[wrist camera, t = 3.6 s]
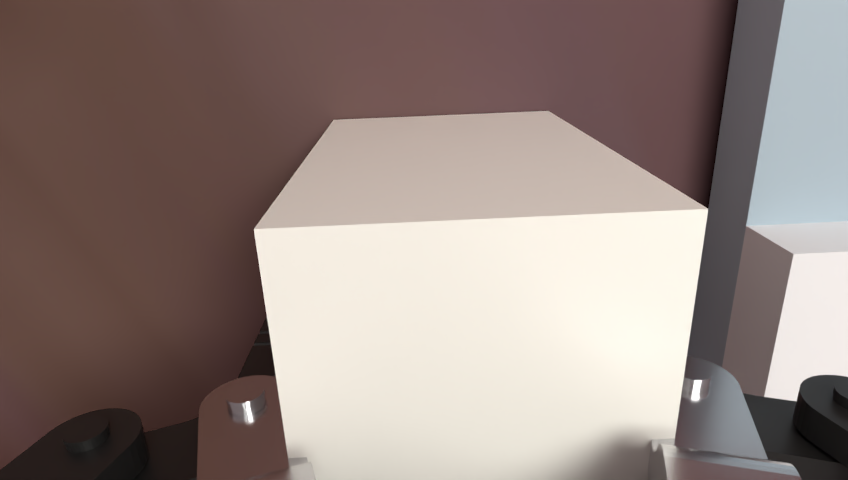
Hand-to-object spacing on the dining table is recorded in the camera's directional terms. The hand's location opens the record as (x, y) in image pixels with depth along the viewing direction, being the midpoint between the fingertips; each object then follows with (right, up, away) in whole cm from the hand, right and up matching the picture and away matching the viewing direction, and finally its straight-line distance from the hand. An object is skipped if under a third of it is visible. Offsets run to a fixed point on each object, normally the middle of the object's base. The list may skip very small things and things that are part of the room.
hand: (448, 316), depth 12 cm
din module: (0, 0, +1) cm, 1 cm away
